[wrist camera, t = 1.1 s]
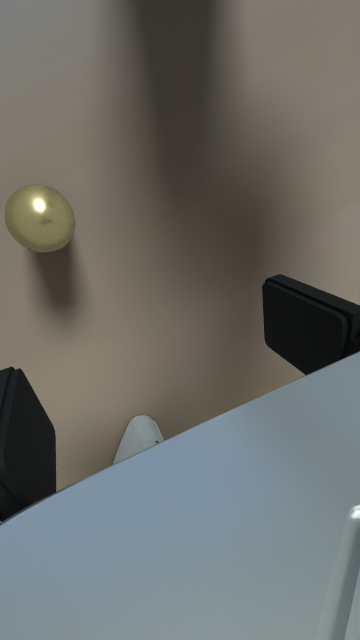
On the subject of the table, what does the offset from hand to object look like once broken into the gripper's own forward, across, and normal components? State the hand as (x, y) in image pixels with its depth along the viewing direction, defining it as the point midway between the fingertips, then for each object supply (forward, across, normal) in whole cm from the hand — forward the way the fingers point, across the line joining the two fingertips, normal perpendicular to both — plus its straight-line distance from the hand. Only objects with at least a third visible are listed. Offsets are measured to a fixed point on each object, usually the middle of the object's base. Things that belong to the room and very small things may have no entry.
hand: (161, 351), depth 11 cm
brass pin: (+22, +3, -4) cm, 23 cm away
